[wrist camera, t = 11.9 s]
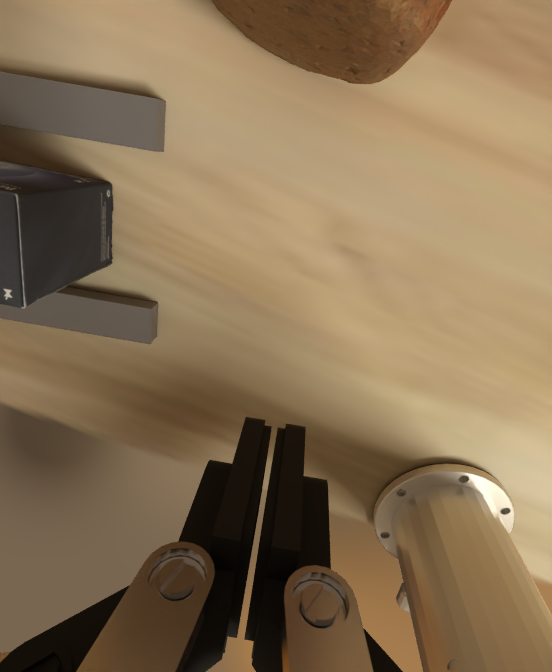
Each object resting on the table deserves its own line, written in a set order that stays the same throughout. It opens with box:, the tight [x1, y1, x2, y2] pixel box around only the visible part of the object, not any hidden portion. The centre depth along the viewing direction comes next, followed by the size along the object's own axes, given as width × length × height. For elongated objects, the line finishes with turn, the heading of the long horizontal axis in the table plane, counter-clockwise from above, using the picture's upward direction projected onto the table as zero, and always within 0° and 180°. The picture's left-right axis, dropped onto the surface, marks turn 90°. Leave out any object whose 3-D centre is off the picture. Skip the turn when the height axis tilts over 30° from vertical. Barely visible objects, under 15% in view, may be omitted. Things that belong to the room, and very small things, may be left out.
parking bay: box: [0, 71, 166, 344], centre depth 29 cm, size 17×17×2 cm
